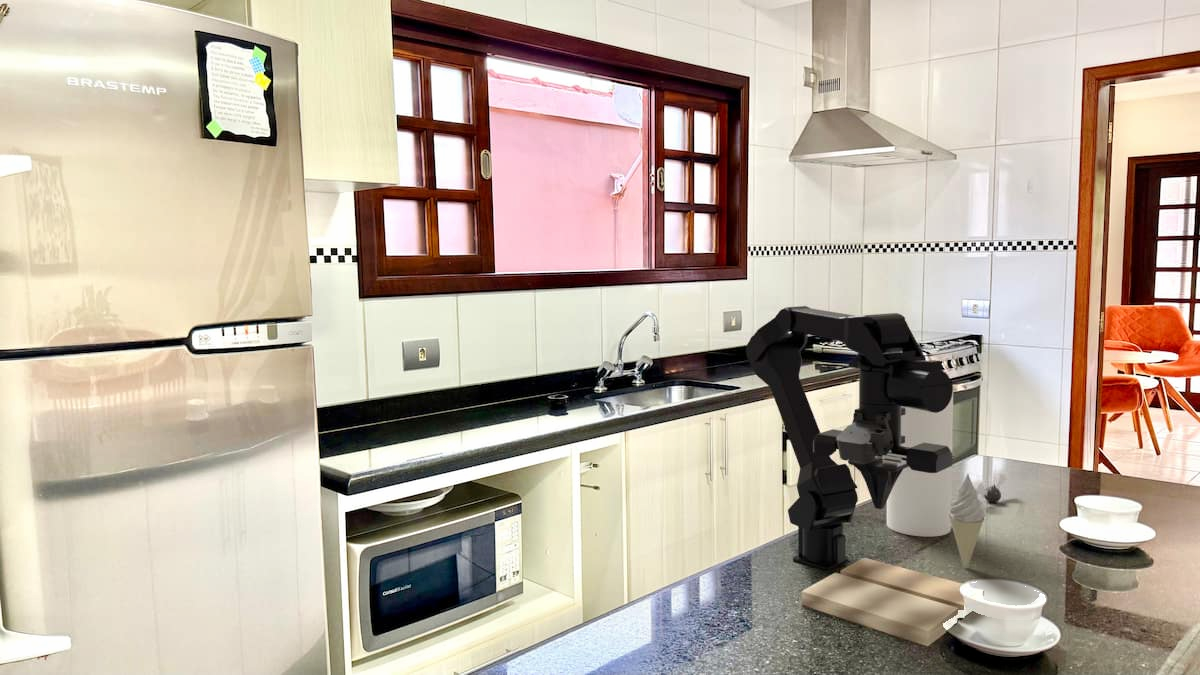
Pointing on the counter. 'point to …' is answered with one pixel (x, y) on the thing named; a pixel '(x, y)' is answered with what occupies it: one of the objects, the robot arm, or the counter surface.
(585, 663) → the counter surface
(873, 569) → the floor strip
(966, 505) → the ice cream cone
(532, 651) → the counter surface
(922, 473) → the tall pillar cylinder
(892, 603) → the oak plank
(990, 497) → the bat toy
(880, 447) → the robot arm
